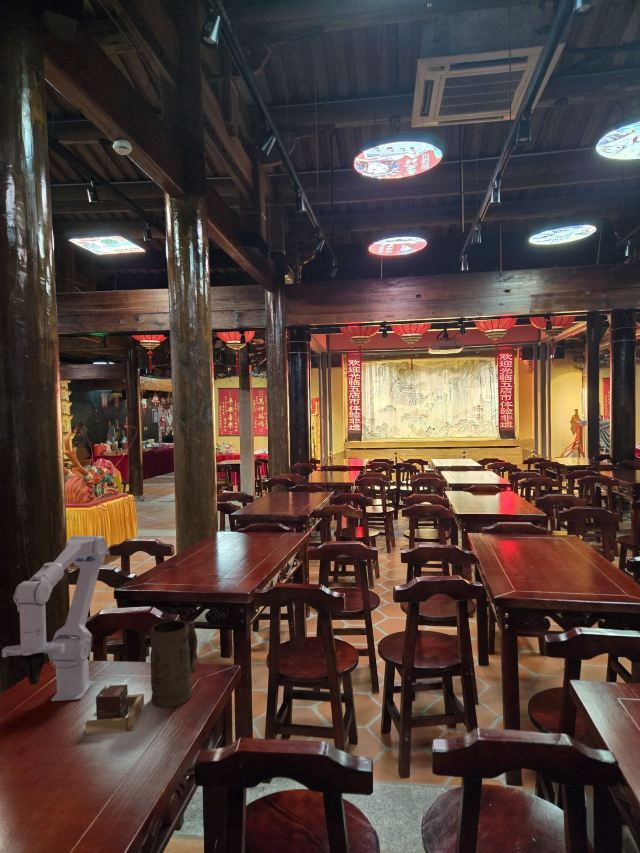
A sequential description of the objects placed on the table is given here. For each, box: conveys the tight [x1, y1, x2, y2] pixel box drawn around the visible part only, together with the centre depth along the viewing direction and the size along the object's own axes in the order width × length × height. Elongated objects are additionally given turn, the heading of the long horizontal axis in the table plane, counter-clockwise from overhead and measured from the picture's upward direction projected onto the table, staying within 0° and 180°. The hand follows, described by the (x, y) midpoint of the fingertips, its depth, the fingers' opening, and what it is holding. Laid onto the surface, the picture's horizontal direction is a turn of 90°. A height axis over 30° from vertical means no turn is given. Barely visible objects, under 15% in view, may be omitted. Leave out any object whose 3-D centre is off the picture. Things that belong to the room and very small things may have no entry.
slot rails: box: [85, 693, 145, 735], centre depth 134 cm, size 12×11×3 cm
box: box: [95, 684, 130, 720], centre depth 134 cm, size 6×6×7 cm
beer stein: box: [149, 619, 198, 708], centre depth 146 cm, size 15×11×20 cm
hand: (34, 682), depth 133 cm, fingers closed
